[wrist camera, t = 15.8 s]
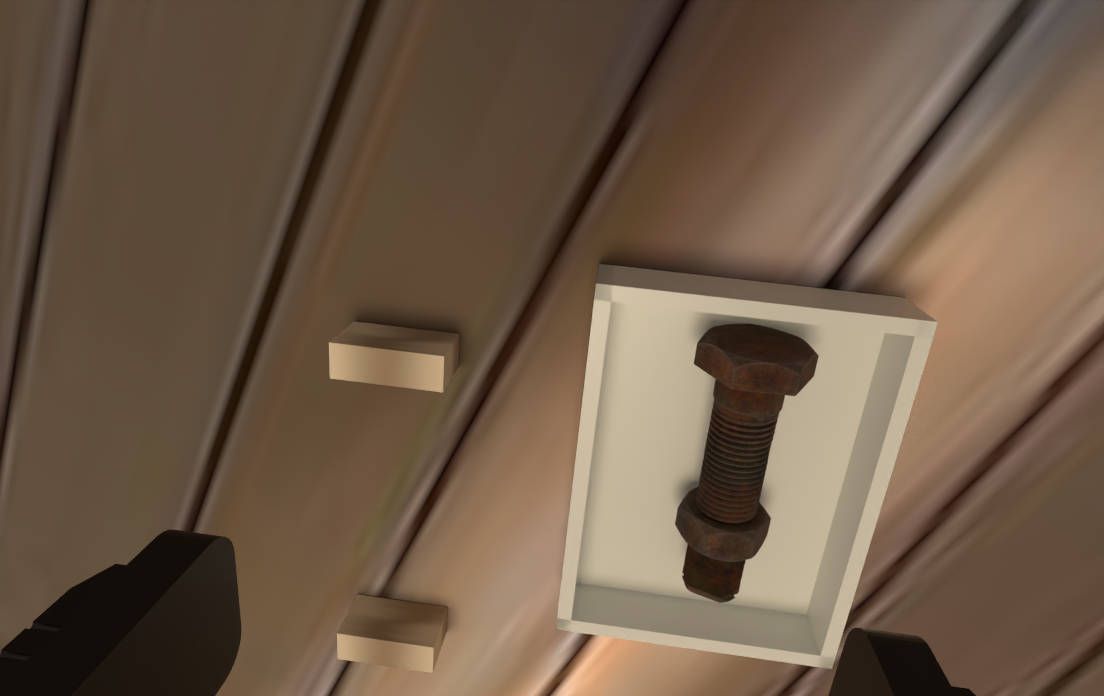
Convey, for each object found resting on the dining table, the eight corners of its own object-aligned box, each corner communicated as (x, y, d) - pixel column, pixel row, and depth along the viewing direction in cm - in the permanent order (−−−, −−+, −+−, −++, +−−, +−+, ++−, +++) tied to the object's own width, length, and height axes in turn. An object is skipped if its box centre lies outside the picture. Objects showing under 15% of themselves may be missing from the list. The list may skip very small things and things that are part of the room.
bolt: (690, 542, 42) (732, 313, 36) (770, 579, 40) (829, 339, 34) (645, 594, 38) (685, 343, 32) (731, 640, 35) (792, 375, 29)
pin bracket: (459, 333, 38) (444, 356, 35) (446, 631, 45) (432, 672, 42) (354, 321, 38) (328, 342, 35) (358, 618, 46) (337, 658, 42)
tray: (904, 297, 35) (938, 322, 31) (813, 617, 42) (831, 669, 38) (598, 263, 36) (596, 283, 32) (561, 582, 43) (556, 629, 39)
